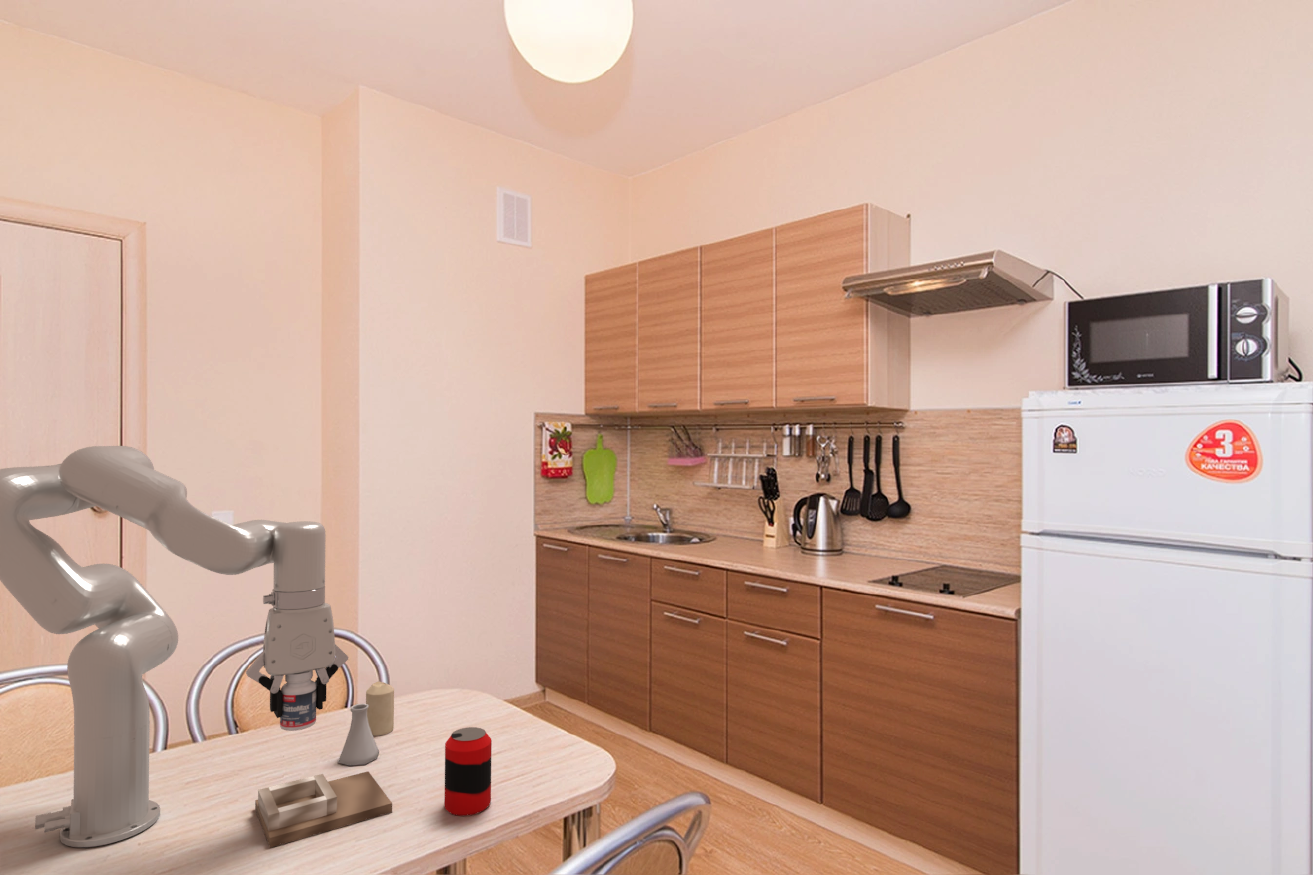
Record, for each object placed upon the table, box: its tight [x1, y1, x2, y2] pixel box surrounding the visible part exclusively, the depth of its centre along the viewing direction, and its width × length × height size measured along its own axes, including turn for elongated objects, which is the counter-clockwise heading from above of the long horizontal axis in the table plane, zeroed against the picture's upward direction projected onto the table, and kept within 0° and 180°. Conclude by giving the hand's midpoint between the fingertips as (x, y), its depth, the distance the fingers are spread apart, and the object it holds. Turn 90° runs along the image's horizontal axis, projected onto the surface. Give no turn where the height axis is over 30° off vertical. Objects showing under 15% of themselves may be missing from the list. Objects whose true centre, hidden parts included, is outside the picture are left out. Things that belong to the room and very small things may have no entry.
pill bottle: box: [279, 670, 317, 732], centre depth 118 cm, size 5×5×9 cm
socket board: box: [254, 771, 393, 849], centre depth 120 cm, size 18×14×4 cm
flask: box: [337, 703, 380, 766], centre depth 140 cm, size 7×7×10 cm
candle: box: [365, 681, 395, 737], centre depth 153 cm, size 6×6×10 cm
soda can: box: [443, 726, 492, 817], centre depth 122 cm, size 8×8×12 cm
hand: (298, 709), depth 118 cm, fingers closed on pill bottle, 5 cm apart
